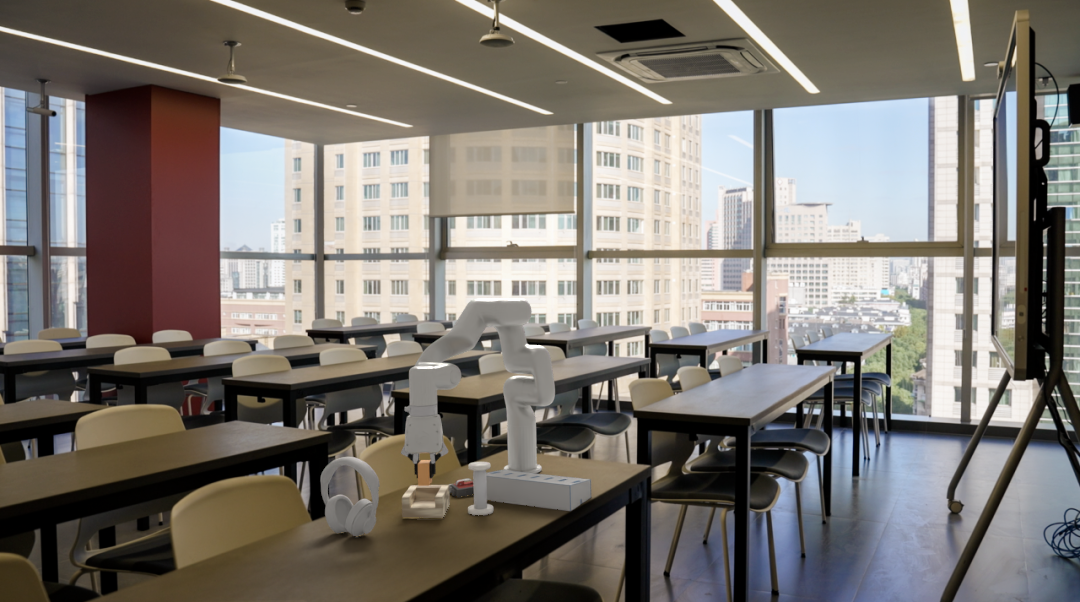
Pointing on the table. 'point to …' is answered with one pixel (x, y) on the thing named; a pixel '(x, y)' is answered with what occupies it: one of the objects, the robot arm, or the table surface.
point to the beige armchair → (426, 501)
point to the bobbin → (480, 489)
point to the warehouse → (537, 489)
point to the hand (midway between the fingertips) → (425, 476)
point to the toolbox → (462, 488)
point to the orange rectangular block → (424, 473)
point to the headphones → (342, 509)
